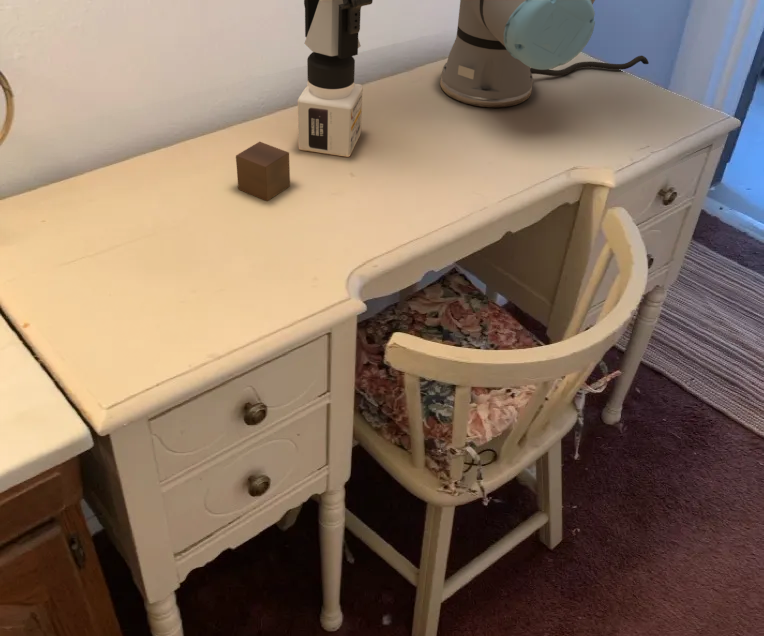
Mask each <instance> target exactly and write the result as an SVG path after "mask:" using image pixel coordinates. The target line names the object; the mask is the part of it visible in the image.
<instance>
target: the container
mask: <svg viewBox="0 0 764 636" xmlns="http://www.w3.org/2000/svg"><path fill="white" fill-rule="evenodd" d="M306 60H307V64H306V65H307V68H306V70H307V85H306V86H305V88H304V89H303V90H302V93H301V94H300V95H299V97H298V98H297V133H298V134H297V136H298V139H297V140H298V149H299V151H306V152H312V153H319V154H325V155H332V156H340V157H347V158H349V157H350V156H351V155H352V153H353V151H354V148H355V147H356V145H357V142H358V141H359V139H360V136H361V135H362V119H363V118H362V116H363V115H362V114H363V113H362V112H363V111H362V110H363V92H364V91H363V90H364V89H363V88H364V87H363V85H362V84H360V83H359V84H358V83H355V73H356V72H355V69H356V59H355V58H354V56H351V57H347V58H343V59H341V58H339V57H338V55H337V56H328V55H324V54H320V53H316V52H313V51H311V53H310V54H309V55H308V56H307V59H306Z"/></svg>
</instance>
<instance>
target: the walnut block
mask: <svg viewBox="0 0 764 636" xmlns="http://www.w3.org/2000/svg"><path fill="white" fill-rule="evenodd" d="M235 163H236V177H237V189H238V190H239V191H241V192H244V193H246V194H249V195H251V196H254V197H257V198H258V199H261V200H264V201H266V202H268V201H270V200H271V199H273V198H274V197H276V196H277V195H279V194H280V193H282V192H283V191H285V190H287V189H288V188H289V187H291V174H290V173H291V172H290V170H291V167H290V152H289V151H286V150H284V149H280V148H278V147H275V146H273V145H270V144H267V143H265V142H263V141H257V142H256V143H254V144H253V145H251V146H250V147H247V148H246V149H244V150H243V151H240V152H239V153H238V154H236V155H235Z"/></svg>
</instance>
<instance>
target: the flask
mask: <svg viewBox="0 0 764 636" xmlns="http://www.w3.org/2000/svg"><path fill="white" fill-rule="evenodd" d="M340 4H343V0H319V3H318V6H317V9H316V12H315V15H314V18H313V21H312V24H311V26H310V29H309V32H308V34H307V37H305V40H304V44H305V46H306V47H307V48H308V49H309V50H310V51H311V52H316V53H320V54H324V55H328V56H337V55H338V24H339V5H340ZM361 46H362V45H361V42H360V39H359V38H358V49H360V48H361Z"/></svg>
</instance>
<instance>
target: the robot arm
mask: <svg viewBox="0 0 764 636" xmlns="http://www.w3.org/2000/svg"><path fill="white" fill-rule="evenodd" d="M373 1H374V0H343V4H340V5H339V24H338V57H339V58H341V59H343V58H347V57H351V56H352V57H355V56H358V55H359V48H358V39H359V33H360V31H361V12H362V11H361V10H362V7H365V6H369V5H372V4H373ZM595 1H596V0H460V1H459V10H458V18H457V19H458V20H457V27H456V28H457V29H456V36H455V40H454V42H453V44H452V46H451V49H450V52H449V54H448V57H447V60H446V62H445V63H444V65H443V67H442V70H441V74H440V83H439V84H440V88H441V90H442V91H443V92H444V93H445V94H446V95H447V96H449V97H450V98H452V99H454V100H456V101H459V102H461V103H463V104H468V105H472V106H475V107H476V106H477V107H484V108H505V107H512V106H516V105H520V104H521V103H524V102H526V100H528V99H529V98H530V97H531V94H532V92H533V91H532V90H533V85H534V84H533V82H534V81H533V80H534V79H533V75H543V76H550V77H561V76H565V75H568V74H570V73H572V72H573V71H575V70H578V69H582V68H595V69H604V70H612V71H613V70H614V71H616V70H617V71H618V70H619V71H620V70H627V69H630V68H632V67H634V66H635V65H636V64H638V63H639V62H641V64H643V65H649V60H648V58H647V57H645V55H638V56H636V57H633V58H632V59H631V60H629V61H627V62H625V63H610V62H602V61H579V62H575V63H573V64H571V65H569V66H567V67H565V68H563V69H562V68H561V69H554V68H557V67H559V66H564V65H566V64H568V63H569V62H571V61H572V60H574V59H575V58H576V57H577V56H578V55H579V54H581V52H582V51H583V50H584V49H585V48H586V46H587V45H588V43H589V41H590V40H591V38H592V36H593V33H594V30H595V25H596V20H595V16H596V13H595V12H596V11H595V8H594V6H593V5H594V2H595ZM318 3H319V0H303V6H304V37H305V38H306V37H307V34H308V32H309V29H310V26H311V24H312V21H313V18H314V15H315V12H316V9H317V6H318Z"/></svg>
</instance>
